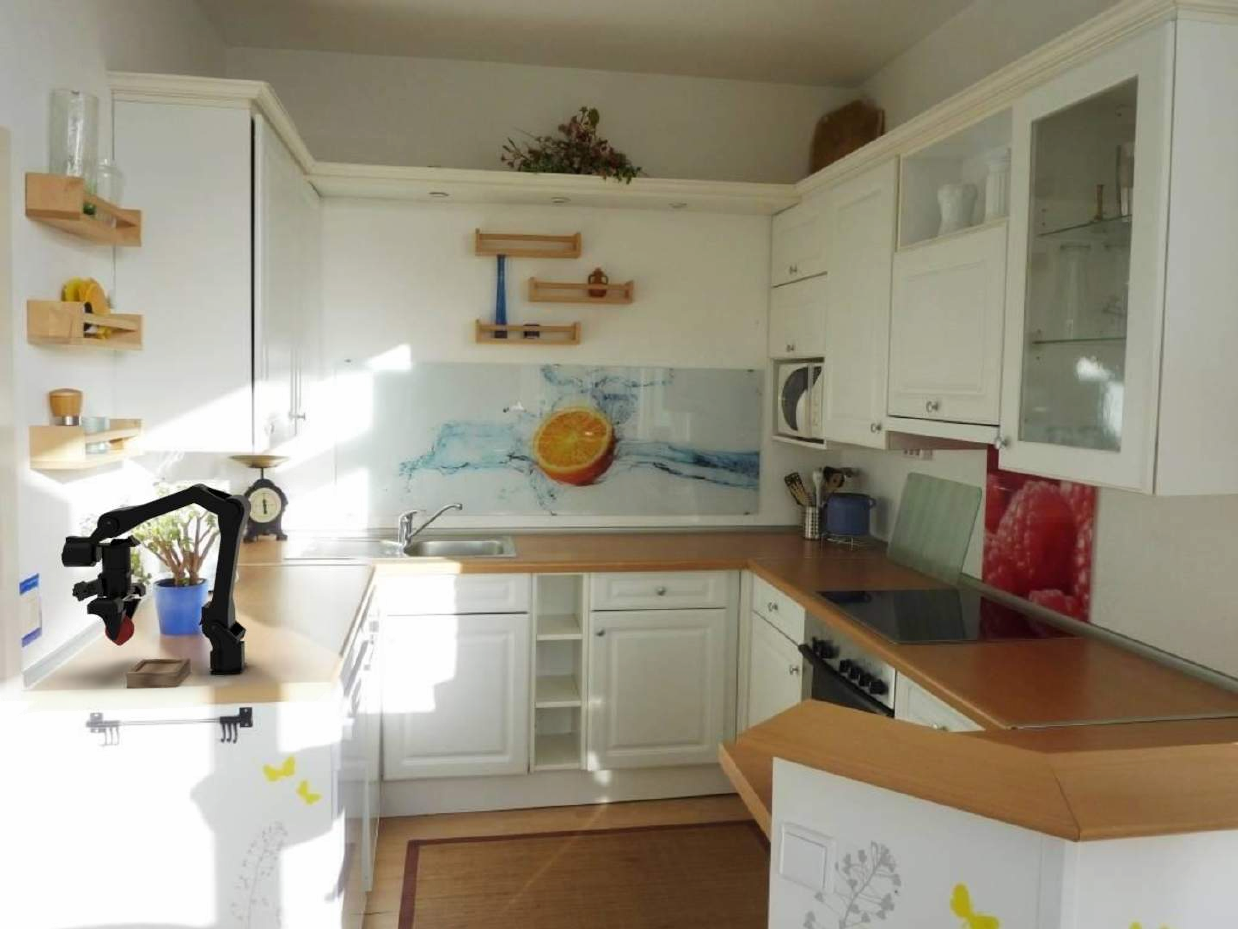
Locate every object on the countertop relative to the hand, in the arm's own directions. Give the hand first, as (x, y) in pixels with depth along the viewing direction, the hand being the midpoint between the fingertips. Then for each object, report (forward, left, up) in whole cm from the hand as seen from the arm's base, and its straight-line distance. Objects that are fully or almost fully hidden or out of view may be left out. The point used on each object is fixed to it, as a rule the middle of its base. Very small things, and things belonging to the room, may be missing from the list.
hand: (118, 636), depth 217 cm
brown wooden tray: (-10, +6, -8) cm, 14 cm away
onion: (0, 0, -2) cm, 2 cm away
